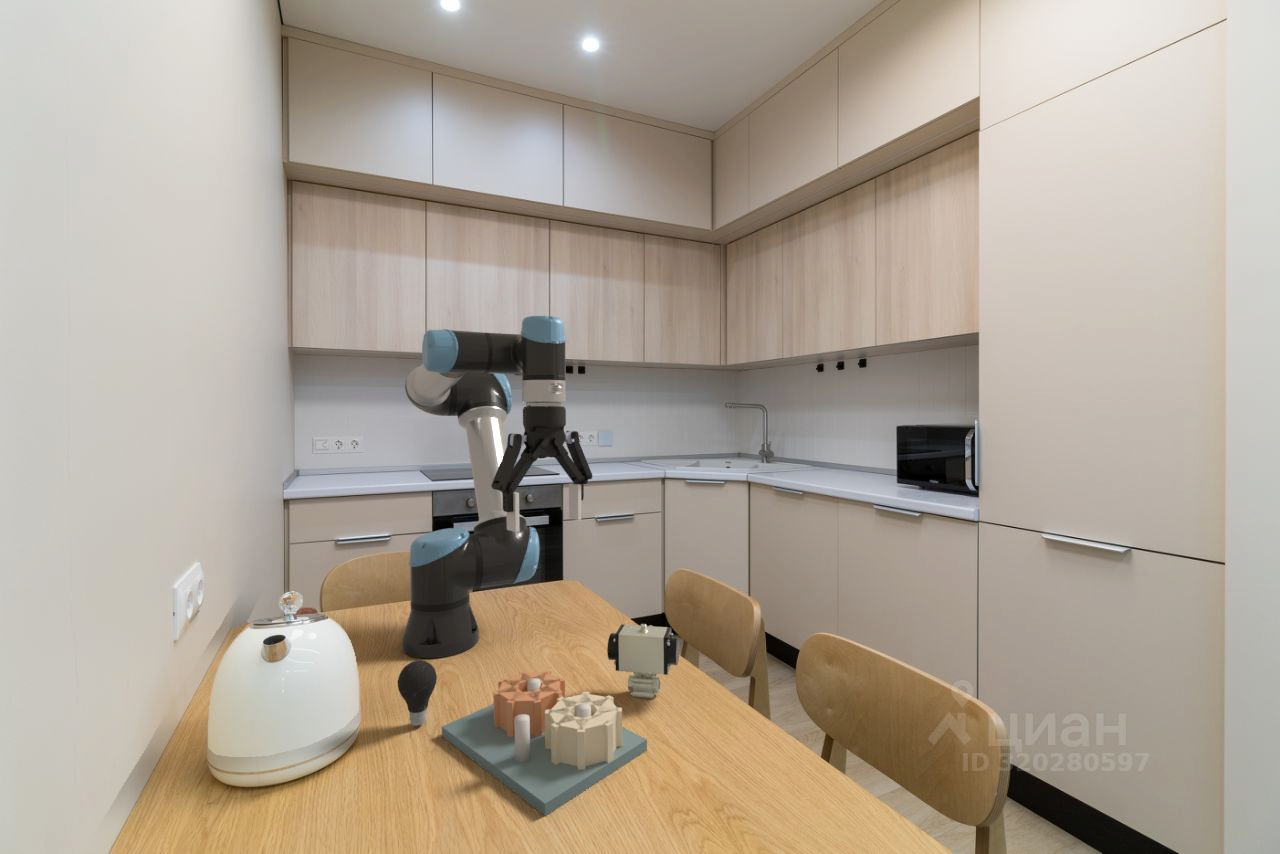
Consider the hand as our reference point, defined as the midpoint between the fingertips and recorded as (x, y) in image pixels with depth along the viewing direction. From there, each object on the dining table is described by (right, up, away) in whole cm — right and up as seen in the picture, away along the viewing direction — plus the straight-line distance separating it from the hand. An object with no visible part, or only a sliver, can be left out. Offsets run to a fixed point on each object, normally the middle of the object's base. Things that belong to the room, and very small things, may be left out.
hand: (545, 524), depth 102 cm
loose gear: (0, -27, -14) cm, 31 cm away
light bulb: (-17, -29, -13) cm, 36 cm away
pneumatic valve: (+18, -28, -4) cm, 34 cm away
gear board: (+2, -29, -18) cm, 34 cm away
